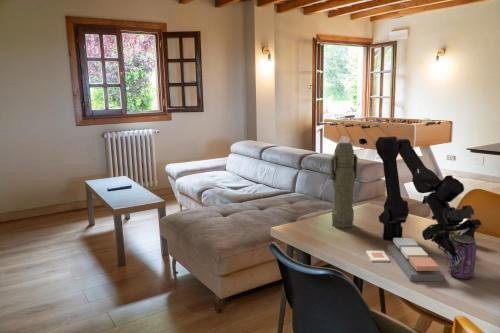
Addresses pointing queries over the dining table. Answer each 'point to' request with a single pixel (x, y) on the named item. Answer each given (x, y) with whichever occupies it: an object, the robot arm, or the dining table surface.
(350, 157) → the thermos
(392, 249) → the keypad board
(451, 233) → the passion flower
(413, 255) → the off-white key
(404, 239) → the grey-blue key
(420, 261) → the terracotta key
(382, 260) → the card
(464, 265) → the beverage can
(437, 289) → the dining table surface
